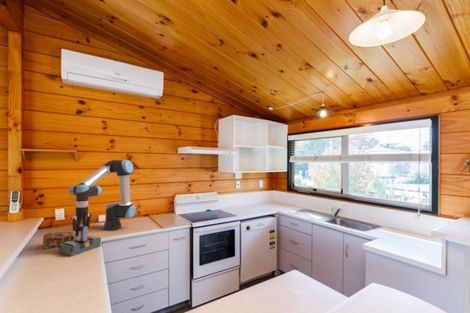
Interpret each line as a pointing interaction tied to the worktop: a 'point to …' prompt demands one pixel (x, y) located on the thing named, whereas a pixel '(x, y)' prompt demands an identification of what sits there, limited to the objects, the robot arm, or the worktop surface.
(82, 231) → the block
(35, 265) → the worktop surface
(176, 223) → the worktop surface
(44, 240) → the bread
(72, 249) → the rack
